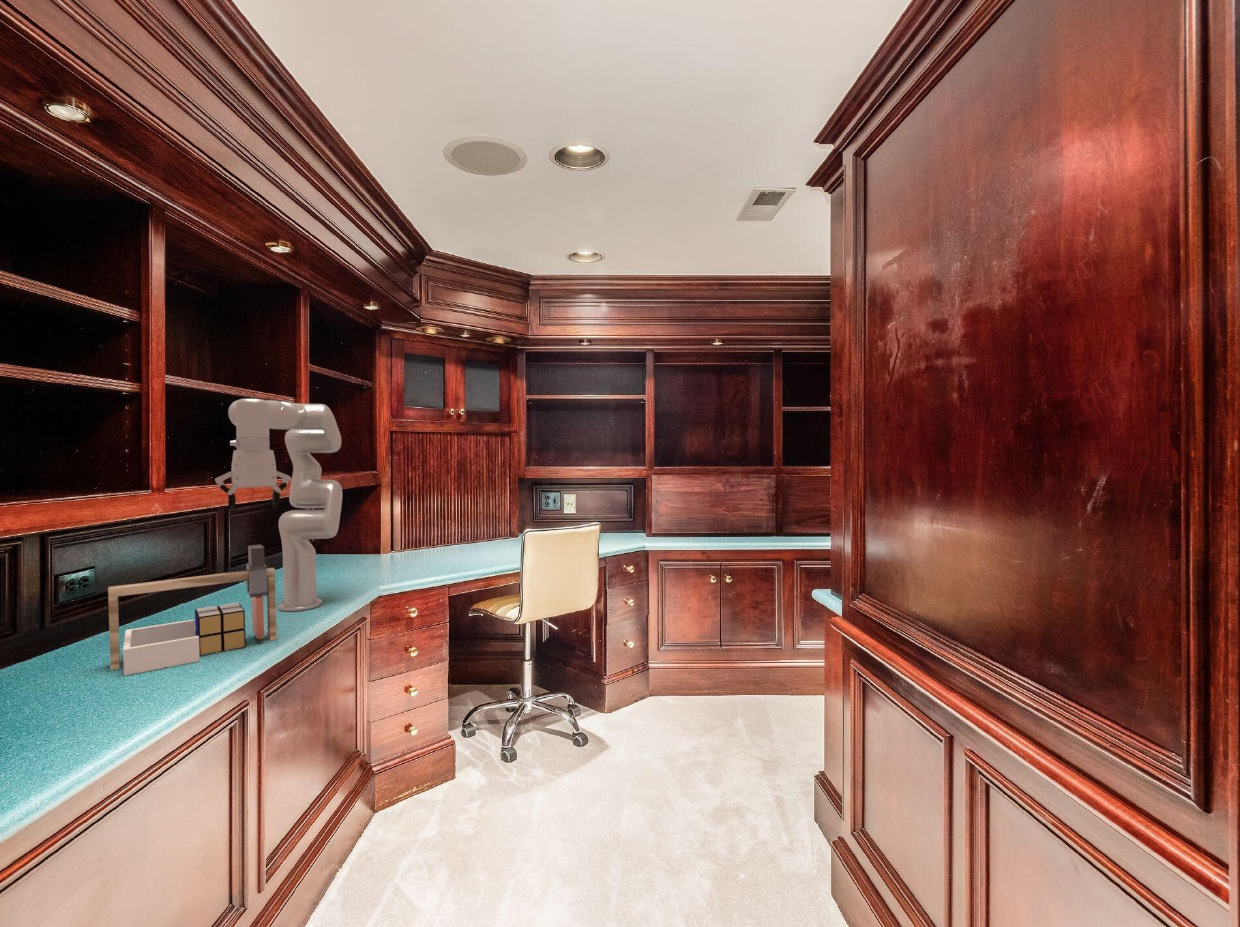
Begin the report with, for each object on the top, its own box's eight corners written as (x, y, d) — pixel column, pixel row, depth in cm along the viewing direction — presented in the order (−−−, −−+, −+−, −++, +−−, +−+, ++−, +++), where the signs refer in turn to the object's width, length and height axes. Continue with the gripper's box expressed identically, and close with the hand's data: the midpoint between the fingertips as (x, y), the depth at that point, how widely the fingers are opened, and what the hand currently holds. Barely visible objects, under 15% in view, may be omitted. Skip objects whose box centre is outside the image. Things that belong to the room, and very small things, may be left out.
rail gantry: (111, 662, 143) (109, 585, 142) (273, 633, 164) (272, 566, 163) (110, 670, 138) (107, 590, 137) (277, 639, 159) (275, 570, 159)
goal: (126, 653, 149) (125, 629, 149) (195, 641, 158) (194, 619, 158) (124, 675, 135) (123, 649, 135) (199, 661, 144) (199, 636, 143)
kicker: (247, 631, 161) (245, 545, 161) (264, 628, 164) (262, 543, 163) (251, 640, 154) (249, 549, 154) (269, 636, 157) (267, 548, 156)
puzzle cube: (195, 646, 155) (194, 608, 154) (240, 637, 161) (239, 602, 161) (199, 656, 147) (197, 617, 147) (245, 647, 153) (245, 609, 153)
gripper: (215, 445, 149) (217, 511, 149) (292, 444, 160) (293, 507, 160) (213, 445, 155) (214, 509, 155) (287, 444, 166) (288, 505, 166)
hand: (254, 508), depth 158 cm, fingers open, 9 cm apart
